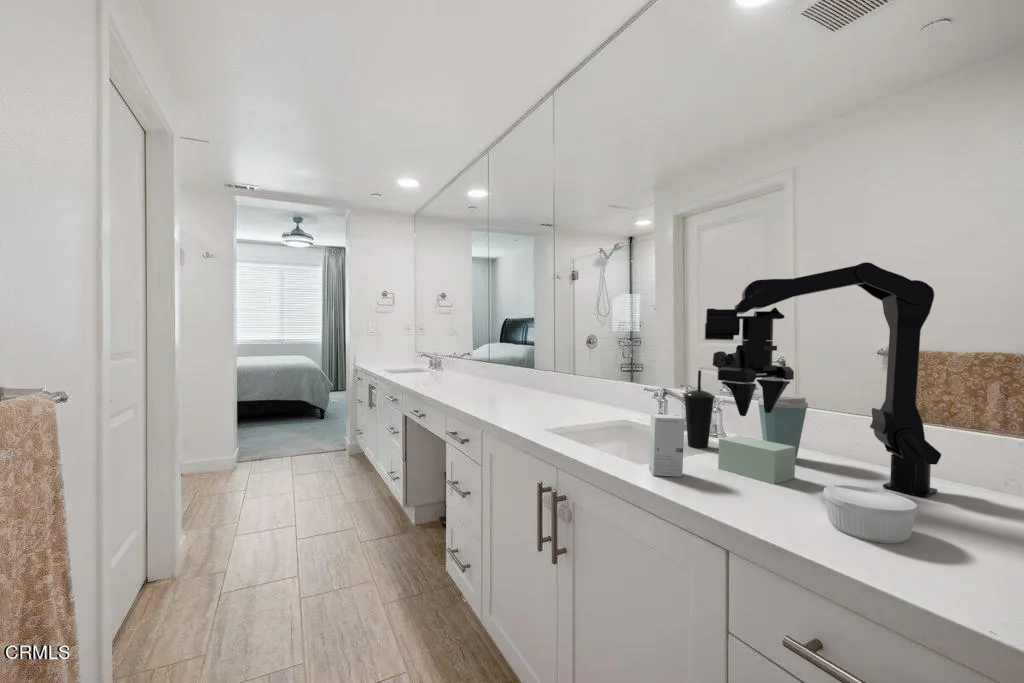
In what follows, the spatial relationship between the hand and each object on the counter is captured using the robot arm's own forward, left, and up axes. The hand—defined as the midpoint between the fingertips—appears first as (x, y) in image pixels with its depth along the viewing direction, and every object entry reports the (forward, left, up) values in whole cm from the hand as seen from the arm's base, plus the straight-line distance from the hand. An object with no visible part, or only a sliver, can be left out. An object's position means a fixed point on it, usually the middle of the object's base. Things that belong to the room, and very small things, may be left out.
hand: (755, 414), depth 96 cm
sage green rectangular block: (0, 0, -12) cm, 13 cm away
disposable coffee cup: (-18, -4, -13) cm, 22 cm away
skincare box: (+17, -9, -13) cm, 23 cm away
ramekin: (+13, +25, -13) cm, 31 cm away
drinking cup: (-10, -21, -13) cm, 27 cm away
